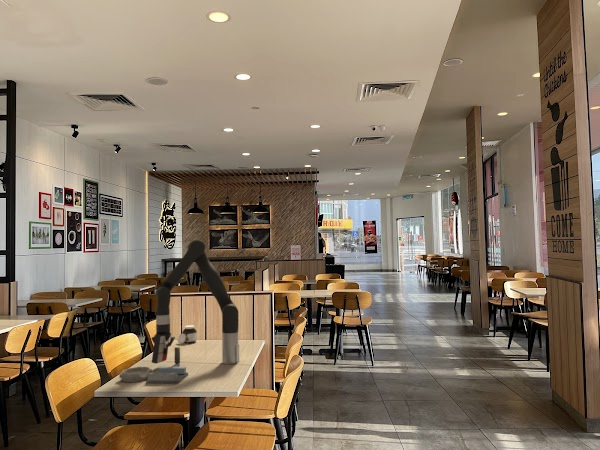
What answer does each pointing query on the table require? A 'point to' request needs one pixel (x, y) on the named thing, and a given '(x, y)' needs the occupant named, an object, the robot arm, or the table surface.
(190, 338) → the spread jar
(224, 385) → the table surface
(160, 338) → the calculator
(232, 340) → the robot arm
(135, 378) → the dish
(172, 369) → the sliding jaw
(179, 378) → the vise
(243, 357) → the table surface
